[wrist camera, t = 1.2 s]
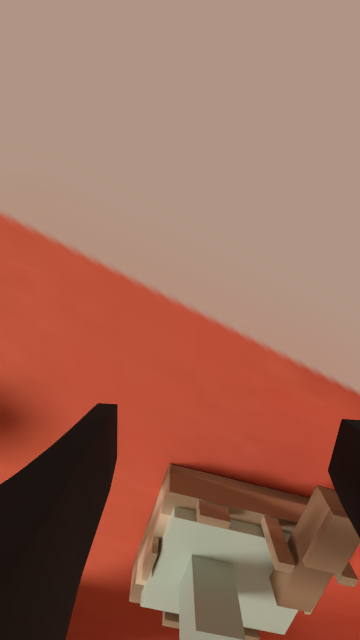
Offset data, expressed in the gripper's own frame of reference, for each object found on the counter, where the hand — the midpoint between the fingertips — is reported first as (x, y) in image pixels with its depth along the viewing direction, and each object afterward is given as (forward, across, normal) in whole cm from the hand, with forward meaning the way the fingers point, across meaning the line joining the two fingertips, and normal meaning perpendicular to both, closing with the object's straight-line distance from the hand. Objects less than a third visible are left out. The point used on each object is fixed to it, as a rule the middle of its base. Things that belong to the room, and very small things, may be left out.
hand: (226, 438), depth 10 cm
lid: (+7, -3, +16) cm, 18 cm away
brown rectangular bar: (+6, -7, +12) cm, 15 cm away
